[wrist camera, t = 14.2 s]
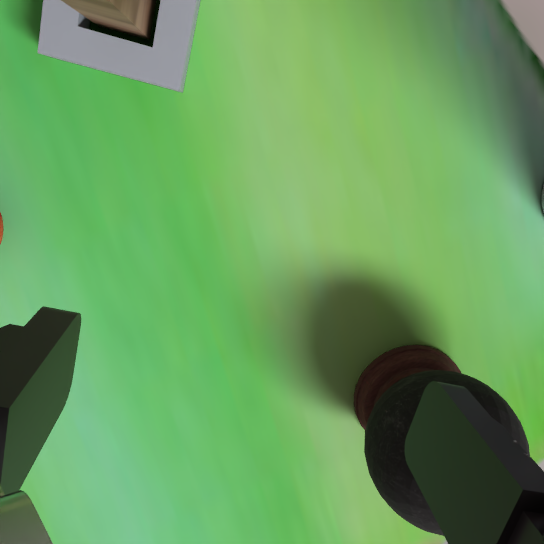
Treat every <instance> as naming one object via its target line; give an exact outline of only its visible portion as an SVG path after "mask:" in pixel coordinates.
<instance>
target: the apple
mask: <svg viewBox="0 0 544 544" xmlns="http://www.w3.org/2000/svg"><path fill="white" fill-rule="evenodd" d="M2 237H3V220H2V215H1V213H0V244H1V241H2Z"/></svg>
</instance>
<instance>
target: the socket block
mask: <svg viewBox="0 0 544 544" xmlns="http://www.w3.org/2000/svg"><path fill="white" fill-rule="evenodd" d="M199 5H200V0H160V6H159V12H158V18H157V24H156V30H155V36H154V42H153V47H149V46H146V45H142V44H139V43H135V42H132V41H128V40H124V39H121V38H117V37H114V36H110V35H107V34H103V33H100V32H96V31H92V30H89V27H90V20H89V19H88V18H86V17H85V16H83V15H82V14H80V13H79V12H77V11H76V10H74V9H73V8H71V7H70V6H68V5H67V4H66V3H64V2H63V1H61V0H43V8H42V17H41V26H40V35H39V45H38V53H39V54H43V55H46V56H49V57H52V58H56V59H60V60H63V61H67V62H71V63H75V64H78V65H82V66H86V67H89V68H93V69H97V70H101V71H104V72H108V73H112V74H115V75H119V76H123V77H127V78H130V79H134V80H138V81H141V82H145V83H149V84H153V85H156V86H160V87H164V88H167V89H171V90H175V91H179V92H182V93H183V89H184V84H185V78H186V73H187V68H188V63H189V57H190V52H191V47H192V42H193V36H194V31H195V26H196V21H197V15H198V10H199Z"/></svg>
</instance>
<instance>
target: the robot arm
mask: <svg viewBox="0 0 544 544" xmlns="http://www.w3.org/2000/svg"><path fill="white" fill-rule="evenodd" d="M542 208H543V212H544V184H543V190H542ZM80 326H81V314H80V313H76V312H70V311H65V310H60V309H55V308H49V307H42V308H41V309H40V310H39V311H38V312H37V313H36V314H35V315H34V316H33V317H32V318H31V320H30V321H29V322H28V323H27V324H26V325H25V326H24V327H23V326H18V325H12V324H9V325H6V326H4V327H1V328H0V544H53V543H52V541H51V539H50V537H49V535H48V533H47V531H46V529H45V527H44V525H43V523H42V521H41V519H40V517H39V515H38V513H37V511H36V509H35V507H34V505H33V503H32V501H31V499H30V498H29V496H28V495H27V494H26V493H25V492H24V491H21V490H20V491H19V489H20V487H21V486H22V484H23V482H24V480H25V478H26V476H27V475H28V473H29V471H30V469H31V467H32V465H33V464H34V462H35V460H36V458H37V456H38V454H39V452H40V451H41V449H42V447H43V445H44V443H45V441H46V440H47V438H48V436H49V434H50V432H51V430H52V429H53V427H54V425H55V423H56V421H57V419H58V417H59V416H60V414H61V412H62V410H63V408H64V406H65V404H66V401H67V398H68V395H69V392H70V388H71V384H72V378H73V372H74V366H75V359H76V353H77V346H78V340H79V333H80ZM516 442H517V441H516V440H515V439H514V438H513V437H512V435H511V434H510V433H509V432H508V431H507V430H506V429H505V428H504V426H503V425H501V424H500V423H499V422H497V421H496V420H495V419H493V418H492V417H491V416H490V415H489V414H488V412H487V411H486V410H485V409H484V408H483V407H482V406H481V404H480V403H479V402H478V401H477V400H476V399H475V398H474V396H473V395H472V394H471V393H470V392H469V391H468V390H467V389H466V388H465V387H463V386H457V385H452V384H447V383H442V382H436V381H432V382H430V383H429V384H428V385H427V386H426V388H425V390H424V392H423V395H422V397H421V400H420V403H419V405H418V408H417V410H416V413H415V415H414V418H413V421H412V423H411V426H410V428H409V431H408V434H407V436H406V440H405V458H406V462H407V465H408V467H409V469H410V471H411V472H412V474H413V476H414V478H415V480H416V482H417V484H418V486H419V488H420V490H421V492H422V494H423V496H424V498H425V499H426V501H427V503H428V505H429V507H430V509H431V511H432V513H433V515H434V517H435V519H436V521H437V523H438V525H439V527H440V528H441V530H442V532H443V534H444V536H445V538H446V540H447V542H448V544H544V472H543V470H542V469H541V468H540V467H539V466H538V465H537V464H536V463H535V461H534V460H533V459H532V458H530V457H528V453H527V452H526V451H525V450H524V449H523V448H522V447H521V446H520V444H516Z"/></svg>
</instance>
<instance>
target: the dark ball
mask: <svg viewBox="0 0 544 544" xmlns="http://www.w3.org/2000/svg"><path fill="white" fill-rule="evenodd" d="M432 381H436V382H442V383H447V384H452V385H457V386H463V387H465V388H466V389H467V390H468V391H469V392H470V393H471V394H472V395H473V396H474V398H475V399H476V400H477V401H478V402H479V403H480V404H481V406H482V407H483V408H484V409H485V410H486V411H487V412H488V414H489V415H490V416H491V417H492V418H493V419H495V420H496V421H497V422H499V423H500V424H501V425H503V426H504V428H505V429H506V430H507V431H508V432H509V433H510V434H511V435H512V437H513V438H514V439H515V440H516V441H517V442H516V444H520V446H521V447H522V448H523V449H524V450H525V451H526V452H527V453H528V457H530V454H529V444H528V441H527V438H526V435H525V432H524V430H523V427H522V425H521V422H520V421H519V419H518V417H517V416H516V414H515V413H514V411H513V410H512V409H511V407H510V406H509V405H508V403H507V402H506V401H505V400H504V399H503V398H502V397H501V396H500V395H499V394H498V393H497V392H495V391H494V390H493V389H491V388H490V387H489V386H488V385H486V384H484V383H482V382H481V381H479V380H477V379H475V378H472V377H470V376H468V375H464V374H461V371H460V370H459V368H458V367H457V365H456V364H455V363H454V362H453V361H452V360H451V359H450V358H449V357H448V356H447V355H446V354H444V353H443V352H441V351H439V350H438V349H435V348H432V347H429V346H423V345H407V346H402V347H398V348H394V349H392V350H390V351H388V352H385V353H384V354H382V355H381V356H379V357H378V358H376V359H375V360H374V361H373V362H372V363H371V364H370V365H368V366H367V368H366V369H365V370H364V372H363V373H362V374H361V376H360V378H359V380H358V382H357V385H356V388H355V392H354V407H355V412H356V415H357V417H358V419H359V421H360V424H361V426H362V427H363V428H364V429H365V451H364V452H365V457H366V462H367V466H368V470H369V474H370V476H371V478H372V480H373V482H374V484H375V486H376V488H377V490H378V492H379V493H380V495H381V496H382V498H383V499H384V500H385V501H386V502H387V504H388V505H389V506H390V507H391V508H392V509H393V510H394V511H395V512H396V513H397V514H398V515H399V516H401V517H402V518H403V519H405V520H406V521H408V522H409V523H411V524H413V525H414V526H416V527H418V528H420V529H422V530H424V531H427V532H431V533H435V534H439V535H443V536H444V534H443V532H442V530H441V528H440V527H439V525H438V523H437V521H436V519H435V517H434V515H433V513H432V511H431V509H430V507H429V505H428V503H427V501H426V499H425V498H424V496H423V494H422V492H421V490H420V488H419V486H418V484H417V482H416V480H415V478H414V476H413V474H412V472H411V471H410V469H409V467H408V465H407V462H406V458H405V440H406V436H407V434H408V431H409V428H410V426H411V423H412V421H413V418H414V415H415V413H416V410H417V408H418V405H419V403H420V400H421V397H422V395H423V392H424V390H425V388H426V386H427V385H428V384H429V383H430V382H432Z"/></svg>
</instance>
